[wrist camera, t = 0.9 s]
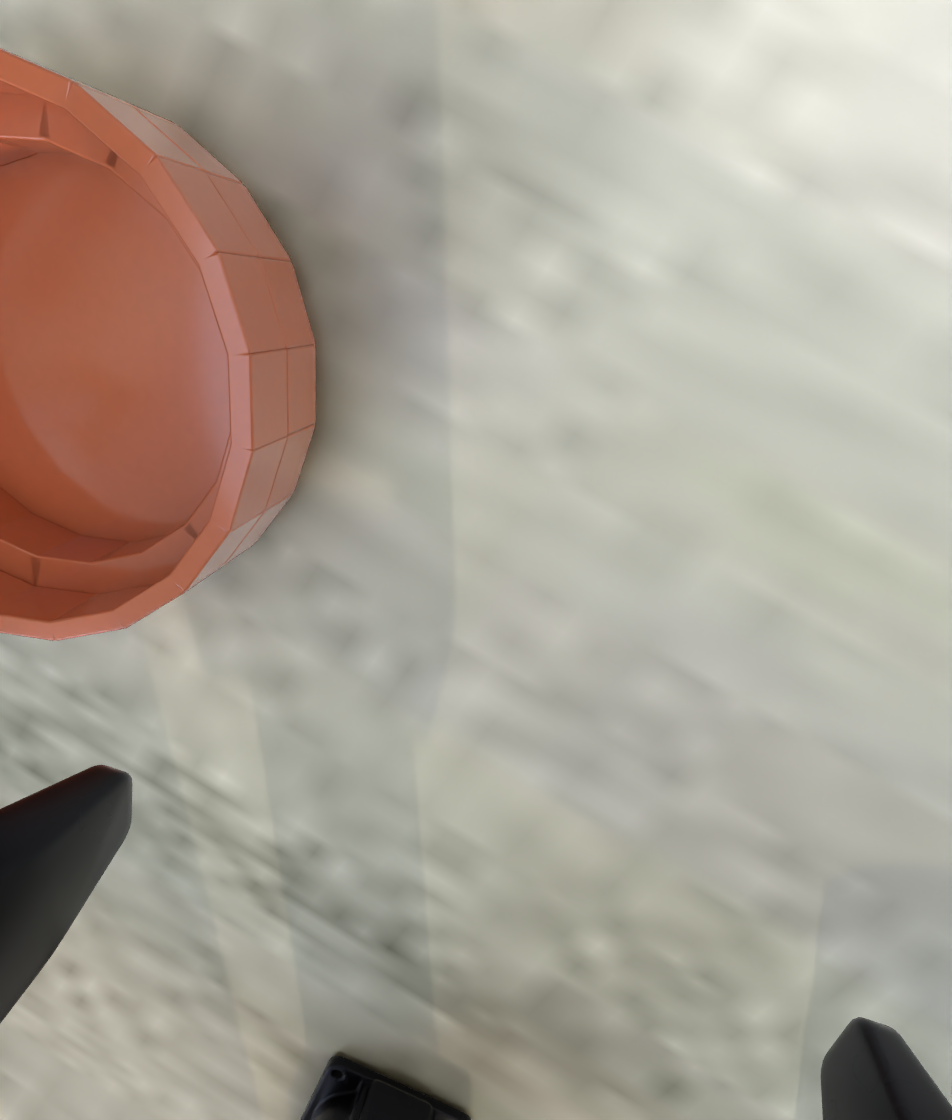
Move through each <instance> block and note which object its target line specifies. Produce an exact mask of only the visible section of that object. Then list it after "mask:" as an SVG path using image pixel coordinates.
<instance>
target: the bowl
mask: <svg viewBox="0 0 952 1120" xmlns="http://www.w3.org/2000/svg"><path fill="white" fill-rule="evenodd" d="M290 261H291V259H290V257H289V256H288V254H287V252H286V251H285V249H284V248H283V246H282V244H281V243H280V241H279V240H278V238H277V236H276V235H275V233H274V232H273V230H272V228H271V227H270V225H269V224H268V222H267V220H266V219H265V217H264V216H263V214H262V212H261V211H260V209H259V207H258V206H257V204H256V203H255V201H254V199H253V198H252V196H251V195H250V193H249V191H248V190H247V188H246V187H245V186H244V185H242V183H241V181H240V180H239V179H238V178H237V177H235V176H234V175H233V174H232V173H231V172H230V171H229V170H228V169H227V168H225V167H224V166H223V165H222V164H221V163H220V162H219V161H218V160H216V159H215V158H214V157H213V156H212V155H211V154H210V153H209V152H208V151H206V150H205V149H204V148H203V147H202V146H201V145H200V144H199V143H197V142H196V141H195V140H194V139H193V138H192V137H191V136H190V135H189V134H187V133H186V132H185V131H184V130H183V129H182V128H181V127H180V126H178V125H175V124H174V123H173V122H171V121H169V120H167V119H165V118H162V117H160V116H158V115H155V114H153V113H151V112H149V111H146V110H144V109H142V108H139V107H137V106H135V105H133V104H130V103H128V102H126V101H124V100H121V99H119V98H117V97H114V96H112V95H110V94H108V93H105V92H103V91H101V90H98V89H96V88H94V87H91V86H89V85H86V84H84V83H82V82H79V81H77V80H75V79H72V78H70V77H68V76H65V75H63V74H60V73H58V72H56V71H53V70H51V69H49V68H46V67H44V66H42V65H39V64H37V63H34V62H32V61H30V60H27V59H25V58H23V57H20V56H18V55H16V54H13V53H11V52H8V51H6V50H4V49H1V48H0V633H6V634H13V635H19V636H26V637H33V638H39V639H46V640H64V639H69V638H75V637H81V636H86V635H92V634H98V633H103V632H109V631H114V630H120V629H124V628H127V627H129V626H131V625H132V624H134V623H136V622H137V621H139V620H141V619H142V618H144V617H146V616H147V615H149V614H151V613H152V612H154V611H155V610H157V609H159V608H160V607H162V606H164V605H165V604H167V603H169V602H170V601H172V600H174V599H175V598H177V597H179V596H180V595H182V594H183V593H185V592H186V591H188V590H189V589H191V588H192V587H194V586H195V585H197V584H198V583H199V582H201V581H202V580H204V579H205V578H207V577H208V576H210V575H211V574H212V573H214V572H215V571H217V570H218V569H220V568H221V567H222V566H224V565H225V564H227V563H228V562H230V561H231V560H232V559H234V558H235V557H237V556H238V555H240V554H241V553H243V552H244V551H245V550H247V549H248V548H250V547H251V546H252V545H253V544H254V543H256V541H257V540H258V539H259V537H260V536H261V535H262V533H263V532H264V531H265V530H266V528H267V527H268V526H269V524H270V523H271V522H272V521H273V519H274V518H275V517H276V515H277V514H278V513H279V511H280V510H281V509H282V508H283V506H284V505H285V504H286V502H287V501H288V500H289V498H290V497H291V496H292V493H293V492H294V491H295V488H296V485H297V482H298V479H299V475H300V472H301V469H302V466H303V463H304V460H305V457H306V454H307V451H308V448H309V444H310V441H311V438H312V435H313V432H314V429H315V422H316V347H315V345H314V344H315V340H314V336H313V333H312V329H311V326H310V322H309V319H308V315H307V312H306V309H305V305H304V302H303V298H302V295H301V291H300V288H299V285H298V281H297V278H296V274H295V271H294V267H293V264H292V262H290Z"/></svg>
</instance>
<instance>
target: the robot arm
mask: <svg viewBox="0 0 952 1120" xmlns="http://www.w3.org/2000/svg"><path fill="white" fill-rule="evenodd" d="M131 818H132V778H131V776H130V775H129V774H128V773H126V772H124V771H121V770H118V769H115V768H112V767H109V766H105V765H97V766H93V767H91V768H88V769H86V770H84V771H82V772H80V773H78V774H75V775H73V776H71V777H69V778H67V779H65V780H62V781H60V782H58V783H56V784H54V785H52V786H49V787H47V788H45V789H43V790H41V791H38V792H36V793H34V794H32V795H30V796H28V797H25V798H23V799H21V800H19V801H17V802H15V803H12V804H10V805H8V806H6V807H4V808H2V809H0V1023H1V1022H2V1021H3V1019H4V1018H5V1017H6V1015H7V1014H8V1013H9V1011H10V1010H11V1009H12V1007H13V1006H14V1005H15V1004H16V1002H17V1001H18V1000H19V998H20V997H21V996H22V994H23V993H24V992H25V990H26V989H27V988H28V987H29V985H30V984H31V983H32V981H33V980H34V979H35V977H36V976H37V975H38V973H39V972H40V971H41V969H42V968H43V967H44V965H45V964H46V962H47V961H48V960H49V958H50V957H51V956H52V954H53V953H54V951H55V950H56V948H57V947H58V945H59V943H60V942H61V940H62V939H63V937H64V936H65V934H66V933H67V931H68V929H69V928H70V926H71V925H72V923H73V921H74V920H75V918H76V917H77V915H78V913H79V912H80V910H81V909H82V907H83V905H84V904H85V902H86V901H87V899H88V897H89V896H90V894H91V893H92V891H93V889H94V888H95V886H96V884H97V883H98V881H99V880H100V878H101V876H102V875H103V873H104V872H105V870H106V868H107V867H108V865H109V864H110V862H111V860H112V859H113V857H114V856H115V854H116V852H117V851H118V849H119V848H120V846H121V844H122V843H123V841H124V839H125V838H126V835H127V833H128V831H129V828H130V824H131ZM821 1090H822V1109H823V1120H952V1106H951V1105H950V1103H949V1102H948V1101H947V1099H946V1098H945V1096H944V1095H943V1094H942V1092H941V1091H940V1090H939V1088H938V1087H937V1085H936V1084H935V1083H934V1081H933V1080H932V1078H931V1077H930V1076H929V1074H928V1073H927V1072H926V1070H925V1069H924V1067H923V1066H922V1065H921V1063H920V1062H919V1060H918V1059H917V1058H916V1056H915V1055H914V1054H913V1052H912V1051H911V1049H910V1048H909V1047H908V1045H907V1044H906V1042H905V1041H904V1040H903V1038H902V1037H901V1036H900V1035H899V1034H898V1033H897V1032H896V1031H895V1030H894V1029H892V1028H891V1027H889V1026H886V1025H883V1024H880V1023H877V1022H874V1021H871V1020H868V1019H865V1018H861V1017H858V1018H856V1019H853V1020H852V1021H851V1022H850V1023H849V1024H848V1026H847V1027H846V1028H845V1030H844V1031H843V1032H842V1034H841V1035H840V1036H839V1038H838V1039H837V1040H836V1042H835V1043H834V1044H833V1046H832V1047H831V1048H830V1050H829V1051H828V1052H827V1054H826V1055H825V1058H824V1060H823V1064H822V1068H821ZM300 1120H471V1118H470V1117H469V1116H468V1115H467V1114H465V1113H463V1112H461V1111H459V1110H457V1109H455V1108H453V1107H450V1106H448V1105H446V1104H444V1103H442V1102H439V1101H437V1100H435V1099H433V1098H431V1097H429V1096H426V1095H424V1094H422V1093H420V1092H418V1091H415V1090H413V1089H411V1088H409V1087H407V1086H405V1085H402V1084H400V1083H398V1082H396V1081H394V1080H392V1079H389V1078H387V1077H385V1076H383V1075H381V1074H378V1073H376V1072H374V1071H372V1070H370V1069H368V1068H365V1067H363V1066H361V1065H359V1064H357V1063H354V1062H352V1061H350V1060H348V1059H346V1058H343V1057H340V1056H335V1057H332V1058H331V1059H330V1060H329V1062H328V1064H327V1066H326V1068H325V1070H324V1072H323V1074H322V1076H321V1078H320V1080H319V1082H318V1084H317V1086H316V1088H315V1090H314V1092H313V1094H312V1096H311V1098H310V1100H309V1102H308V1104H307V1106H306V1108H305V1110H304V1112H303V1115H302V1117H301V1119H300Z"/></svg>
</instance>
